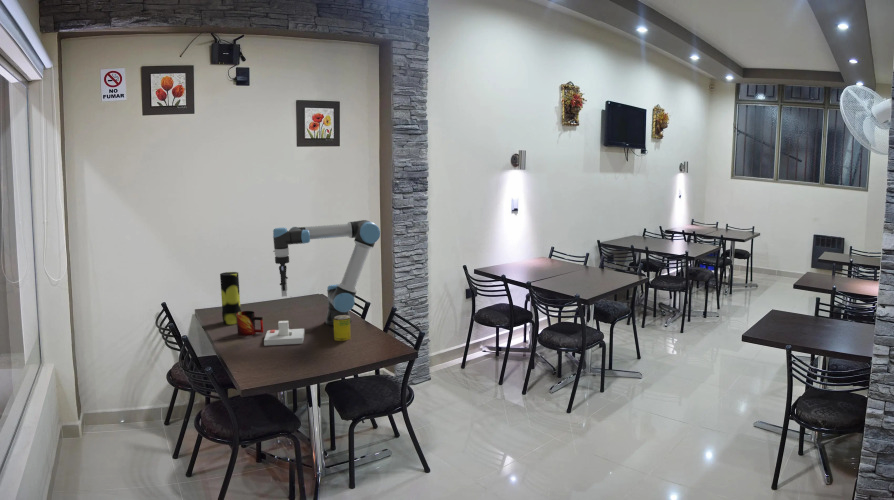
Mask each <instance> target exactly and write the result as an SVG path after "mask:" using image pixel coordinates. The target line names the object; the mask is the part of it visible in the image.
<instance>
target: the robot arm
mask: <svg viewBox="0 0 894 500" xmlns="http://www.w3.org/2000/svg"><path fill="white" fill-rule="evenodd" d="M272 232H273V233H272V234H273V235H272V238H273V249H274V250H273V251H272V252H273V253H274V256H275V257H274V261H275V264H276V265H279V266H278V270H279V275H280V283H279V286H280V288H281V290H280V291H281V297H287V296H288V293H287V291H288V279H289V277H288V276H287V269H288V268H287V265H286V264H288V263H290V255H289V254H290V252H289V251H290V249H289V246H290V245H299V244H300V245H301V244H302V245H303V244H304V245H305V244H309V243H310V242H311V240H319V239H321V240H323V239H333V238H335V239H336V238H344V237H345V238H346V237H348V238H349V239H354V240H353V242H354V243H355V244H354V247H353V250H352V253H351V255H350V258H349V261H348V264H347V266H346V269H345V272H344V274H343V277H342V280H341V283H337V284H330V285H328V286H327V289H326V291H327V313H326V317H325V324H326V325H330V326H334V320H333V317H335V316H338V315H348V316H350V323H351V322H352V316H351V314H350V311H351V310H353V308H354V306H355V298H356V294H357V290H356V287H357V285H358V284H357V283H358V282H359V279H360V276H361V273H362V271H363V268H364V265H365V264H366V260H367V259H368V258H367V257H368V254H369V252H370V250H372V249H373V248H375V247H374V246H375V244H376V242H377V241H379V239H380V236H381V228H379V226H378V224H376V223H374V222H373V221H370V220H366V219H365V220H364V219H363V220H362V219H361V220H355V221H349V222H347V223H340V224H327V225H315V226H314V225H313V226H301V227H299V226H298V227H297V226H292V227H291V228H290V229H289V230H288V229H287V227H275V228H274V229H273V230H272Z"/></svg>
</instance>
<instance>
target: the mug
mask: <svg viewBox="0 0 894 500" xmlns="http://www.w3.org/2000/svg"><path fill="white" fill-rule="evenodd" d="M255 315H256V314H255V311H254V310H253V311H252V310H243V311H242V310H241V312H238V313H237V324H236V326H237V328H236V330H237V335H238V336H240V337H250V336H253V335H255V334H256V333H264V321H263V320H264V319H263V316H255ZM256 321H259V322H260V329H259V328H258V329H257V328H256Z"/></svg>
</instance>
